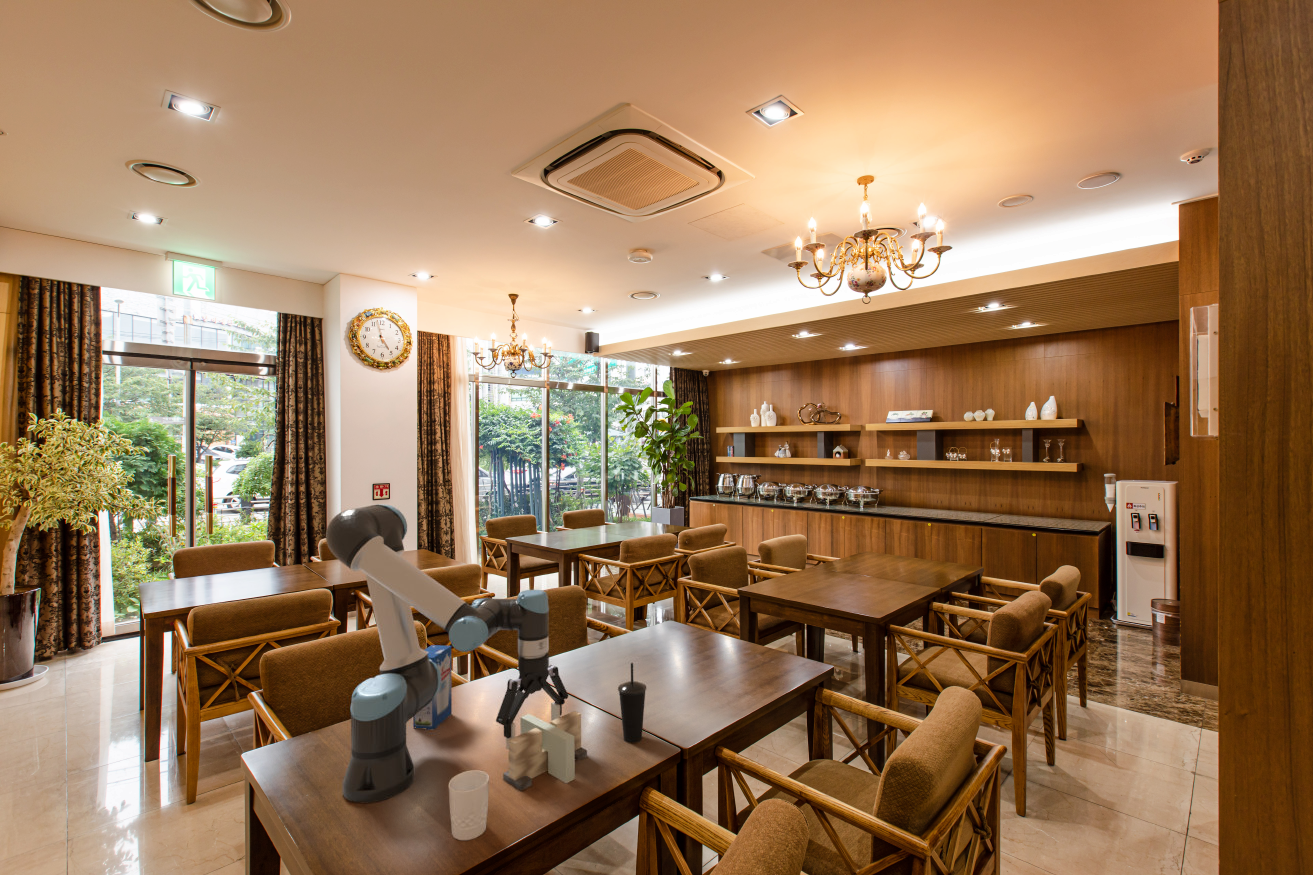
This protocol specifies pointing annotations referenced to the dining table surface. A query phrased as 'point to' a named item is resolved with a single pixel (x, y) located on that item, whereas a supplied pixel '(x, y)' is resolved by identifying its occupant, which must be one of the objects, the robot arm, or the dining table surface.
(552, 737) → the sage board
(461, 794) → the white cup
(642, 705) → the drinking cup
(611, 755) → the dining table surface
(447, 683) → the milk carton
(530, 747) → the maple board
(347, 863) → the dining table surface
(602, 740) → the dining table surface
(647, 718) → the dining table surface
